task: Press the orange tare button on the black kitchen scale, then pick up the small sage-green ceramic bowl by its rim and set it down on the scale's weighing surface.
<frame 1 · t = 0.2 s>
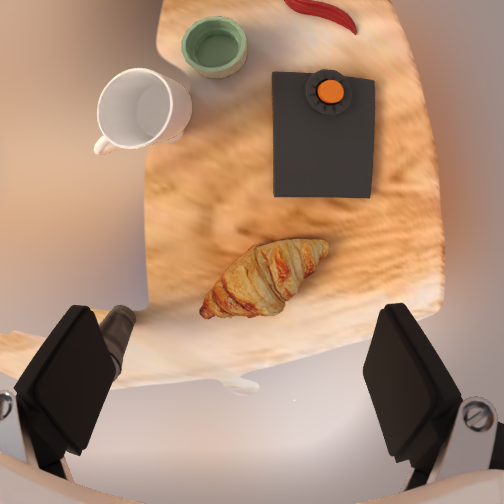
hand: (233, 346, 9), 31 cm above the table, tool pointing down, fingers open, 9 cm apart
cup: (152, 118, 34), on the table
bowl: (218, 53, 30), on the table
cayenne pepper: (316, 10, 27), on the table
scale: (323, 135, 35), on the table
croissant: (262, 274, 43), on the table
beverage cup: (124, 314, 47), on the table
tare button: (330, 91, 29), point 3 cm above the table, slide at 0.1 cm
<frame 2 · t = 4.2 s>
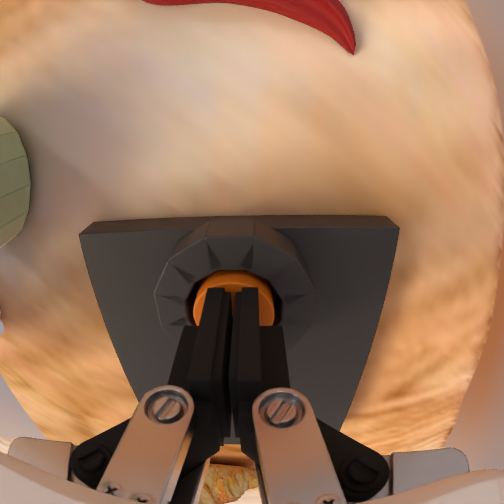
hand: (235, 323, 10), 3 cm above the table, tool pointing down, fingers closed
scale: (242, 358, 15), on the table
croissant: (176, 472, 24), on the table
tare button: (234, 304, 11), point 3 cm above the table, slide at -0.7 cm, touching gripper
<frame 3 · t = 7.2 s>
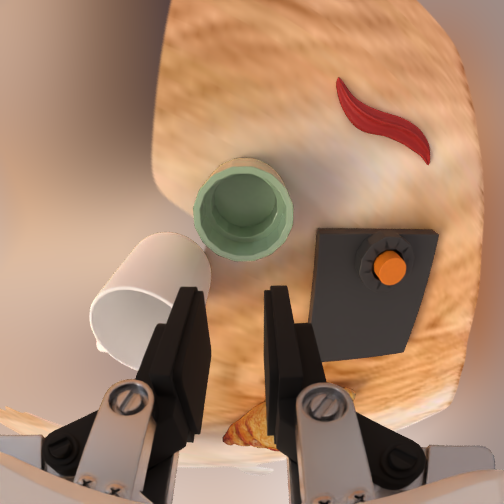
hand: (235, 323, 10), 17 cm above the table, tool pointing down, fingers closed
cup: (159, 276, 29), on the table
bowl: (244, 196, 25), on the table
cayenne pepper: (384, 124, 23), on the table
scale: (367, 297, 30), on the table
croissant: (285, 409, 39), on the table
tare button: (389, 267, 25), point 3 cm above the table, slide at 0.1 cm
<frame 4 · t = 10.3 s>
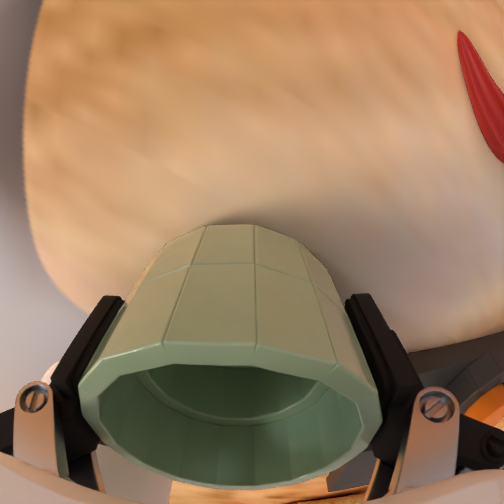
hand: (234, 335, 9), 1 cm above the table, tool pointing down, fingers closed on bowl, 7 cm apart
cup: (97, 406, 14), on the table
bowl: (236, 311, 11), on the table, touching gripper
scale: (431, 420, 15), on the table
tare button: (488, 409, 10), point 3 cm above the table, slide at 0.1 cm
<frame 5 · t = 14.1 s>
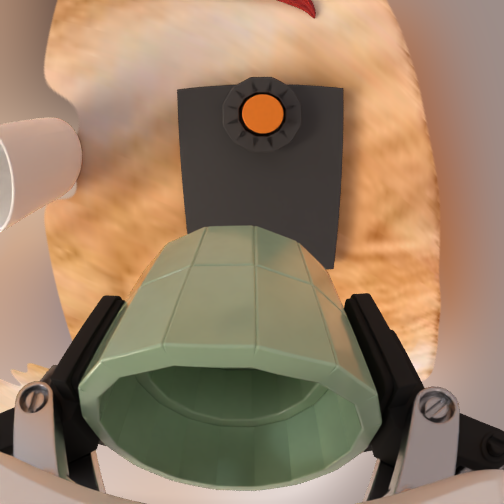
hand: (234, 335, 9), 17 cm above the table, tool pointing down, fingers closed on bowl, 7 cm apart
cup: (44, 169, 23), on the table
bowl: (236, 312, 10), point 16 cm above the table, touching gripper
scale: (262, 179, 24), on the table
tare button: (262, 114, 19), point 3 cm above the table, slide at 0.1 cm
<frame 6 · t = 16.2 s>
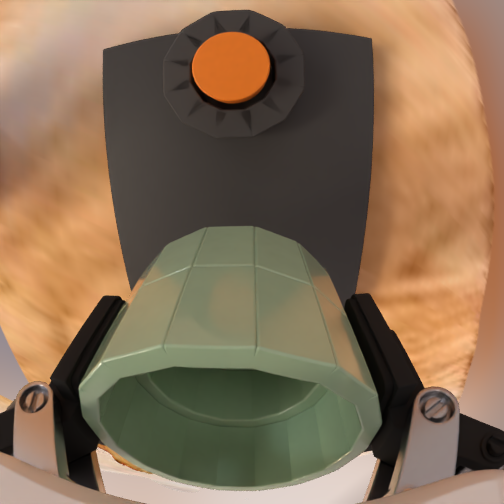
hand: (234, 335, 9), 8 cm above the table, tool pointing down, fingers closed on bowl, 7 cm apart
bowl: (236, 312, 10), point 6 cm above the table, touching gripper
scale: (239, 185, 15), on the table
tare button: (232, 68, 9), point 3 cm above the table, slide at 0.1 cm
when the fingers open (3 cm above the table, at t = 18.0 s): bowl stays where it is, resting on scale.
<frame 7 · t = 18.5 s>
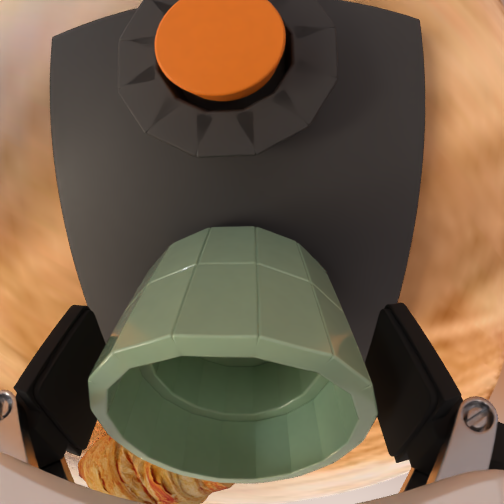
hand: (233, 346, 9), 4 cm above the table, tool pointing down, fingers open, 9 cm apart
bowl: (238, 309, 11), point 1 cm above the table, touching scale
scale: (235, 219, 11), on the table
croissant: (155, 451, 20), on the table
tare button: (221, 44, 5), point 3 cm above the table, slide at 0.1 cm
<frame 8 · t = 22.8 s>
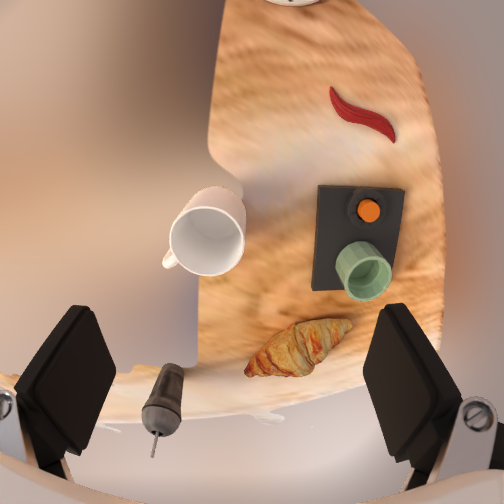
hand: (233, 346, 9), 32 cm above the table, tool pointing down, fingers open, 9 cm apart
cup: (206, 220, 41), on the table
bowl: (356, 261, 42), point 1 cm above the table, touching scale
cayenne pepper: (362, 116, 35), on the table
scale: (356, 238, 42), on the table
croissant: (296, 342, 51), on the table
beverage cup: (173, 370, 55), on the table
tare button: (368, 210, 37), point 3 cm above the table, slide at 0.1 cm
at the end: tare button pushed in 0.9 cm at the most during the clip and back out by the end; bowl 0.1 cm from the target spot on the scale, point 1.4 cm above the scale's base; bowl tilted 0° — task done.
